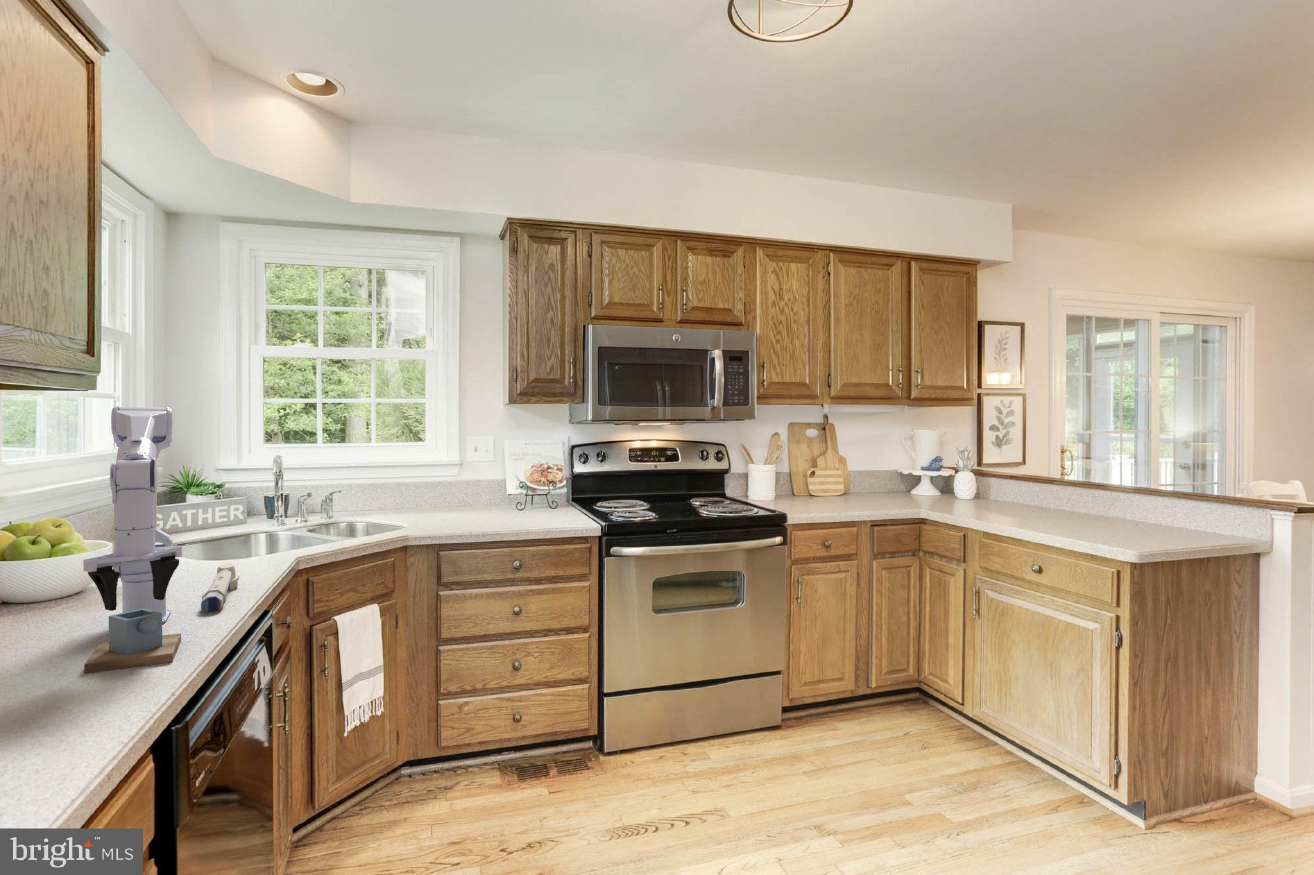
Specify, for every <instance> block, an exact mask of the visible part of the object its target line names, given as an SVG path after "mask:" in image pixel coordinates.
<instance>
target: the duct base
mask: <svg viewBox="0 0 1314 875" xmlns="http://www.w3.org/2000/svg"><path fill="white" fill-rule="evenodd" d="M181 642H182V633H173V634H165V635H164V634H162V646H160V647H156V648H152V649H149V650H145V651H141V652H138V653H134V654H130V655H124V654H120V653H117V652H114V651H111V650H109V641H105V642H99V644H98V645H97V647H96V648H95V649H94V651H93V652H92V653H91V655H90V656H89V657H88V659H87V660H86V661H85V662H84V665H83V666H84V667H83V669H84V670H83V671H84V674H90V673H97V672H104V671H105V672H106V671H112V670H113V671H114V670H121V669H128V668H137V667H143V666H151V665H158V664H159V665H160V664H167V663H173V661H174V659H175V657H176V654H177V652H178V649H179V647H180V645H181V644H182V643H181Z"/></svg>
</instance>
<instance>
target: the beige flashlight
mask: <svg viewBox="0 0 1314 875" xmlns="http://www.w3.org/2000/svg"><path fill="white" fill-rule="evenodd" d="M239 579H240V575H239V573H237V572H236V566H235V565H234V563H231V562H225V563H221V564H219V565H218V567H217V569H216V575H215V576H214V577H213V579H212V582H211V585H210V586H209V587H208V590H206V592H204V594H203V595H202V596H201V602H200V610H201V611H202V612H204V613H205V614H210V613H217V612H219V611H220V610H221V609H222V607H223V605H225V604H226V603H227V602H226V601H227V600H226V599H227V598H226V597H227V593H228V591H232V590H234V589H238V587H239Z"/></svg>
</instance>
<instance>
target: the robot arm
mask: <svg viewBox="0 0 1314 875" xmlns="http://www.w3.org/2000/svg"><path fill="white" fill-rule="evenodd" d="M110 413H111V415H110V421H111V422H110V425H111V427H110V428H111V434H112V437H113V440H114V441H113V442H114V443H115V444H116V447H117V452H116V453H117V454H116V460H115V463H113V462H111V464H110V466H109V467H110V468H109V487H110V490H111V491H110V492H111V498H112V504H114V506H113V518H114V519H113V527H114V528H113V531H114V532H113V535H114V536H113V537H114V538H113V539H114V540H113V542H114V544H113V548H114V549H113V553H109V554H104V555H99V556H95V557H91V558H86V559H85V558H83V560H82V563H83V564H82V565H83V566H82V567H83V572H87V574H88V576H89V578H90V579H91V580H92V582H93V583H94V585H95V586H96V588H97V590H98V592H99V594H100V596H101V600H102V603H103V606H104V610H105V611H106V610H107V611H108V612H109V611H110V612H113V611H117V607H118V606H117V605H118V602H117V601H118V600H117V591H118V590H117V589H118V583H119V579H120V583H121V586H122V587H121V589H122V592H121V593H122V594H121V595H122V596H121V599H122V601H121V602H122V604H121V605H122V610H121V613H125V612H129V611H134V610H138V609H143V608H146V609H150V610H154V611H158V612H162V624H163V623H166V622H167V621H168V619H169V616H170V615H171V612H172V608H167V589H168V587H169V584H170V581H171V579H172V577H173V575H174V573H175V571H176V569H177V568H178V567H179V565H180V559H178V558H182V556H183V547H182V545H176V544H175V545H173V538H172V536H171V535H170V534H168V533H166V532H164V531H163V530H162V529H159V528H158V526H157V525H158V524H157V523H158V522H157V520H158V518H157V512H158V511H157V510H158V508H157V507H158V506H157V504H158V503H157V500H158V498H157V497H158V496H157V494H158V493H157V492H158V483H159V482H158V480H159V467H158V463H157V462H158V461H157V460H158V458H159V455H160V452H161V451H162V450H164V449H166V448H169V447H171V443H172V442H173V441H172V440H173V437H172V436H173V409H172V408H171V407H169V406H166V407H152V406H147V407H146V406H119V405H115V406H114V407H113V408H111V412H110ZM156 543H161V544H156Z"/></svg>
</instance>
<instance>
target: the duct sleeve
mask: <svg viewBox="0 0 1314 875" xmlns="http://www.w3.org/2000/svg"><path fill="white" fill-rule="evenodd" d="M162 635H163V623H162V612H158V611H154V610H150V609H146V608H143V609H138V610H134V611H129V612H125V613H122V612H120V613H116V614H112V615H109V616H108V642H109V650H111V651H114V652H117V653H120V654H124V655H130V654H134V653H138V652H141V651H145V650H149V649H152V648H156V647H160V646H162Z"/></svg>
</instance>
